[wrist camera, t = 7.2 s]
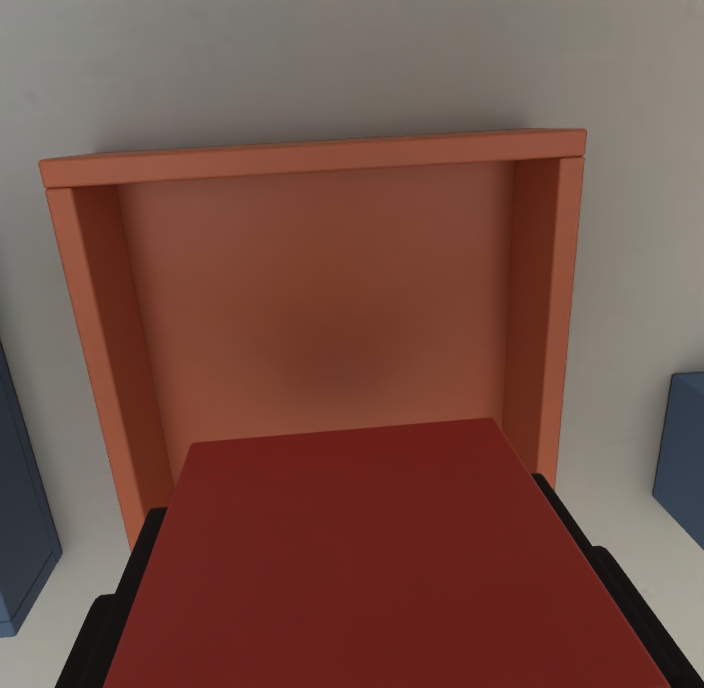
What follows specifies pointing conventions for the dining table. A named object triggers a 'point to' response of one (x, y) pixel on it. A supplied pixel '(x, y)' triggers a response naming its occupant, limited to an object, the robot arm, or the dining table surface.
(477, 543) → the red block
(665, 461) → the blue block
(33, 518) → the blue bin
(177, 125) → the dining table surface
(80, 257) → the orange open box
